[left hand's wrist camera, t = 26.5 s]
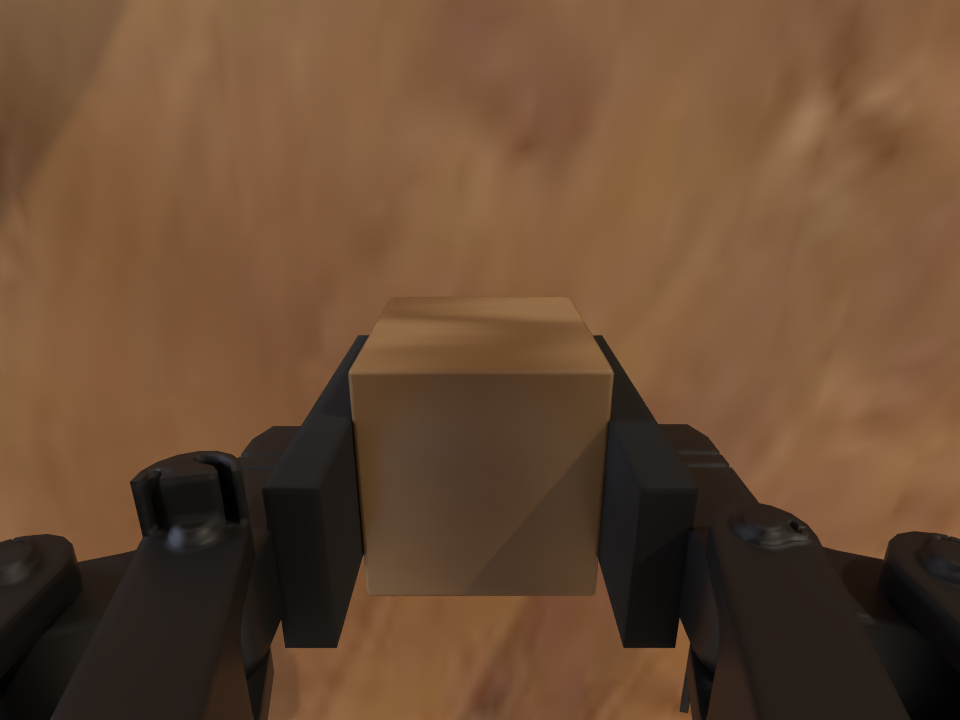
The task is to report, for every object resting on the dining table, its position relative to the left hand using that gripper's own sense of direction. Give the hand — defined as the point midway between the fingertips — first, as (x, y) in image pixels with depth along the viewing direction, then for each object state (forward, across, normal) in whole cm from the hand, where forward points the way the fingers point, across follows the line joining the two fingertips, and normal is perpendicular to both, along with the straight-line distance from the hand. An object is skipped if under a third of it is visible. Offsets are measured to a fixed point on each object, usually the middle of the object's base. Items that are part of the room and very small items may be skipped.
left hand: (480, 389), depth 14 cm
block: (0, 0, 0) cm, 0 cm away
